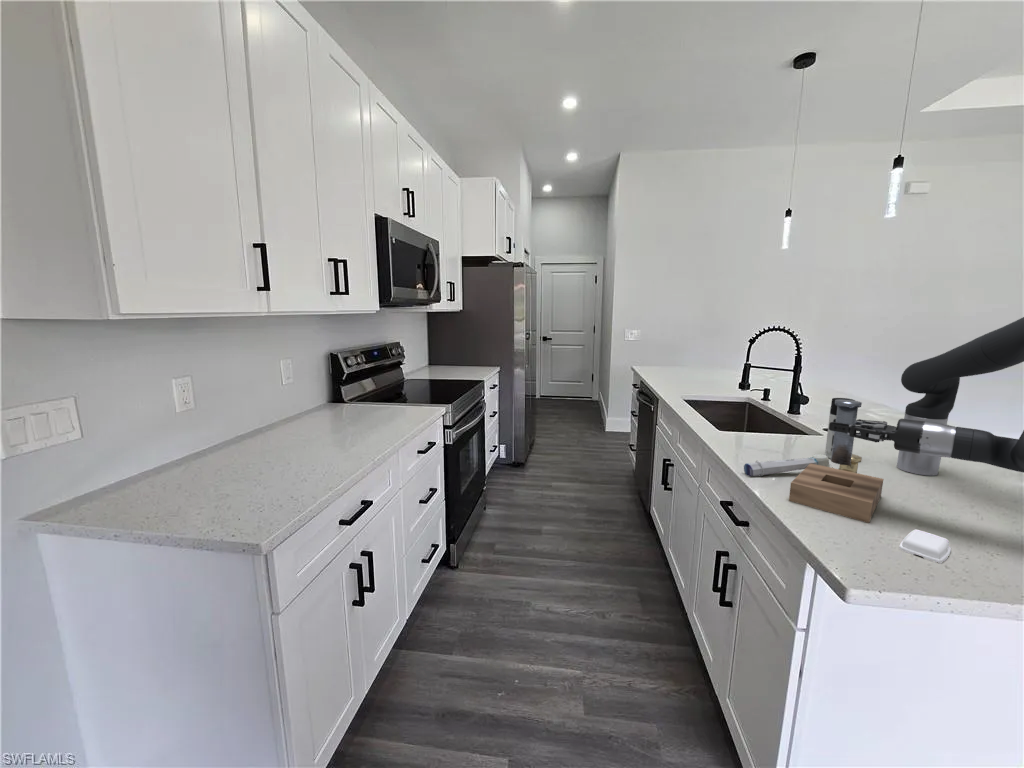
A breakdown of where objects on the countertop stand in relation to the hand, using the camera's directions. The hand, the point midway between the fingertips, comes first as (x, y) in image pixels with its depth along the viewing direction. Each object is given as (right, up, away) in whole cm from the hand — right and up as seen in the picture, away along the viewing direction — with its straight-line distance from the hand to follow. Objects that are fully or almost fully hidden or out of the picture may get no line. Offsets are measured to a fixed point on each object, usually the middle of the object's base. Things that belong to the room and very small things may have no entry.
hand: (831, 424), depth 107 cm
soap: (+2, -24, -22) cm, 33 cm away
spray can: (+26, -15, +31) cm, 43 cm away
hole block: (+2, -20, +1) cm, 20 cm away
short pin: (+13, -18, +11) cm, 25 cm away
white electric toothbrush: (0, -17, +18) cm, 25 cm away
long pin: (+2, -10, 0) cm, 10 cm away
